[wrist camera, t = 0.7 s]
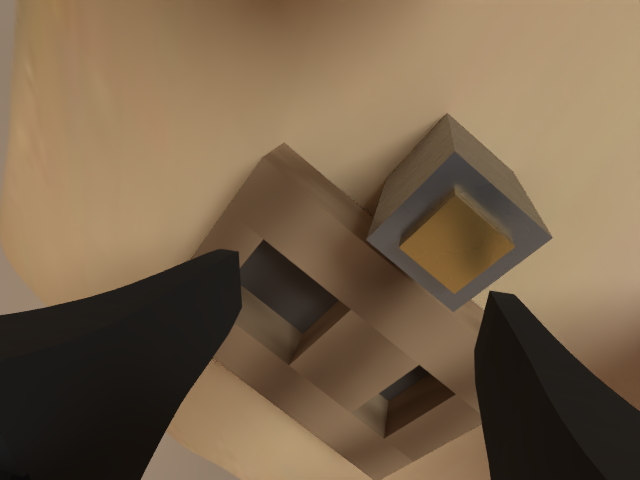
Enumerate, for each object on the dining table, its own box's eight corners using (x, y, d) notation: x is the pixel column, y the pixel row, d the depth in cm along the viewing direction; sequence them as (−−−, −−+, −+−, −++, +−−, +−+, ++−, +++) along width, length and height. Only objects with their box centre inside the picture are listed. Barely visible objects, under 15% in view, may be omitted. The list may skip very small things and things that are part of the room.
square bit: (513, 171, 18) (557, 246, 12) (447, 230, 20) (454, 322, 14) (447, 112, 18) (455, 156, 11) (386, 178, 20) (363, 247, 13)
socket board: (529, 348, 22) (542, 390, 19) (381, 440, 28) (376, 481, 25) (283, 142, 20) (262, 157, 18) (181, 285, 26) (153, 312, 24)
